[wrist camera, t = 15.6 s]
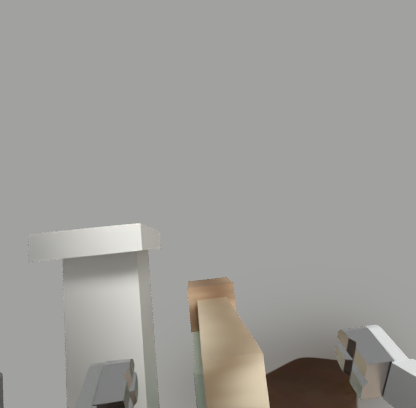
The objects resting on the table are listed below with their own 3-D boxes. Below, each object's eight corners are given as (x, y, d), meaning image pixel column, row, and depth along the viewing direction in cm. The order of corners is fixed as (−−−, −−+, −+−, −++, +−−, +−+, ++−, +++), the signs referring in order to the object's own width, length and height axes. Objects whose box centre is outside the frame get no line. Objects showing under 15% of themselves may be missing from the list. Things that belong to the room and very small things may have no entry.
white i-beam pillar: (-2, 682, 16) (-1, 237, 20) (80, 498, 28) (71, 240, 32) (202, 640, 17) (167, 220, 21) (198, 478, 29) (176, 229, 33)
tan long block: (190, 431, 12) (182, 334, 13) (191, 318, 31) (188, 281, 31) (288, 416, 12) (276, 322, 13) (230, 313, 31) (226, 277, 32)
